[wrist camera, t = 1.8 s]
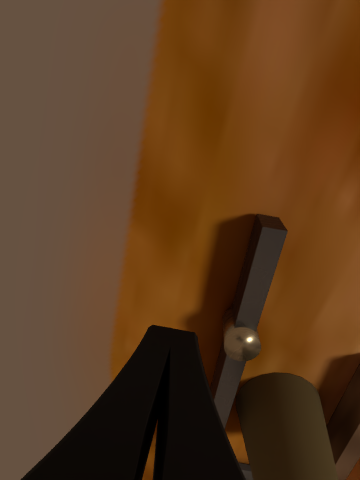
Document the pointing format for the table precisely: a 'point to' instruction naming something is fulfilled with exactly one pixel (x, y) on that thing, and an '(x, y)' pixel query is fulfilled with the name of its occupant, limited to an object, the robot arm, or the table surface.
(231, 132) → the table surface
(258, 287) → the bar
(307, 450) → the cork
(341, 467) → the rail
